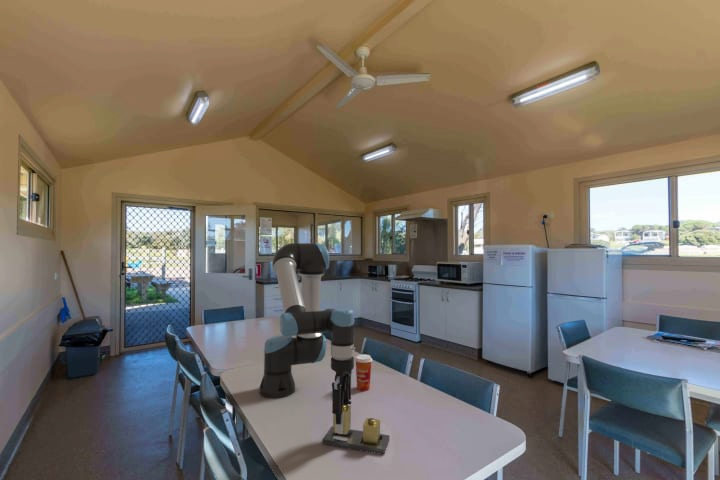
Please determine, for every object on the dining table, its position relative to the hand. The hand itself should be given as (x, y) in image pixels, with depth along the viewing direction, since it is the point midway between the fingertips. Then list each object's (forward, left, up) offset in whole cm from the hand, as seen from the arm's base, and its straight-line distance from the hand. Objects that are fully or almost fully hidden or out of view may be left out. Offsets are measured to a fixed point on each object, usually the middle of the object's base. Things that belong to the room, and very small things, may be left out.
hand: (341, 428), depth 110 cm
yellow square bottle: (0, 0, 0) cm, 0 cm away
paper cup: (-4, +41, -4) cm, 42 cm away
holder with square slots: (+5, 0, -4) cm, 6 cm away
